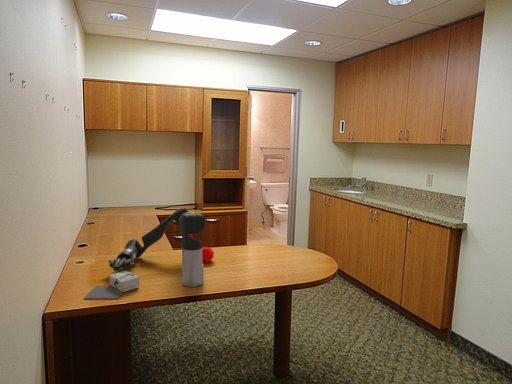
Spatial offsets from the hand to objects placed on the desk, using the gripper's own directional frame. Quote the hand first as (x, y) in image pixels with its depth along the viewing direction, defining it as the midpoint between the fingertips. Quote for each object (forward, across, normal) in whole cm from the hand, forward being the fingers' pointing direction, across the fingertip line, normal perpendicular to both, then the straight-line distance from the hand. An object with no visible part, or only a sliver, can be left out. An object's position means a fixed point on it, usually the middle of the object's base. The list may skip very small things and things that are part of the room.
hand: (115, 268), depth 174 cm
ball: (-29, -40, -6) cm, 49 cm away
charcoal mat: (+14, 0, -6) cm, 15 cm away
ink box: (+3, -2, -3) cm, 5 cm away
